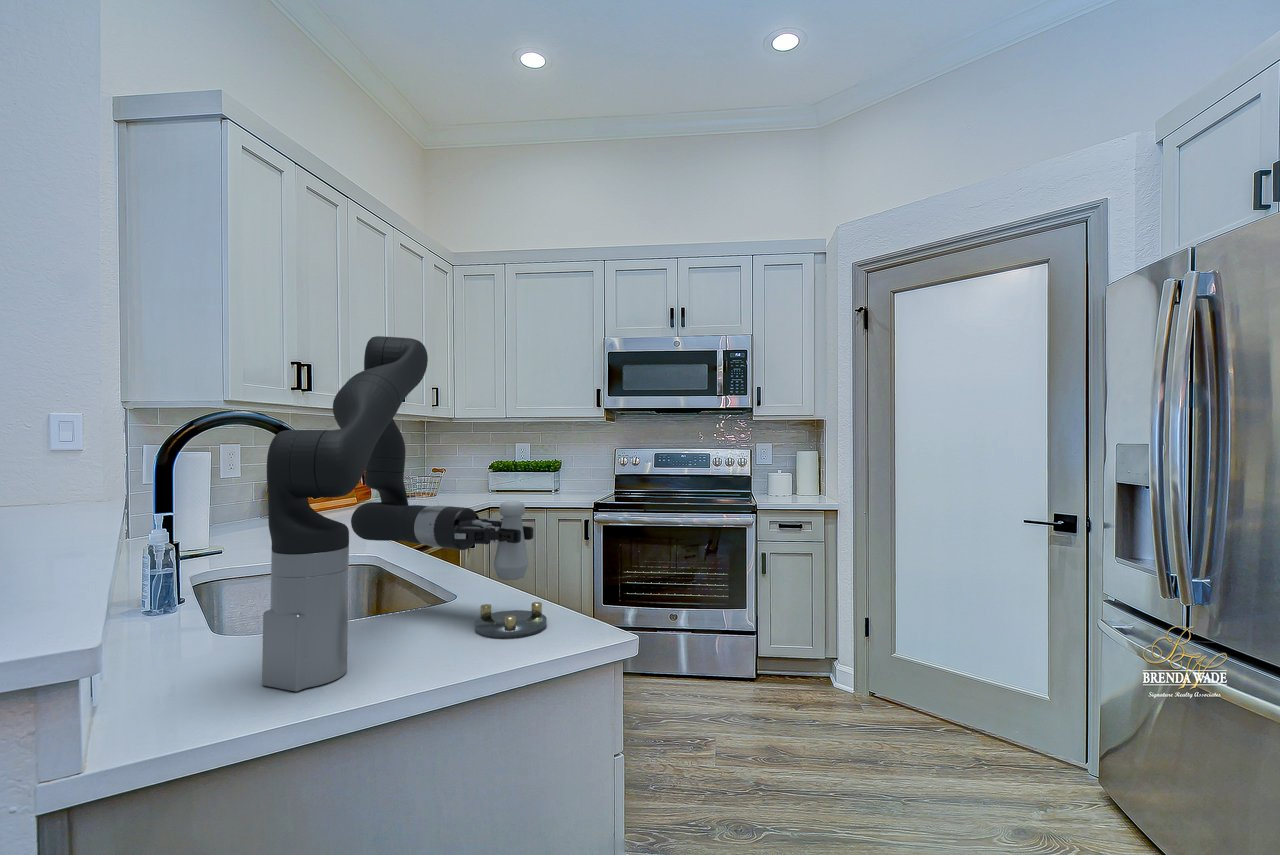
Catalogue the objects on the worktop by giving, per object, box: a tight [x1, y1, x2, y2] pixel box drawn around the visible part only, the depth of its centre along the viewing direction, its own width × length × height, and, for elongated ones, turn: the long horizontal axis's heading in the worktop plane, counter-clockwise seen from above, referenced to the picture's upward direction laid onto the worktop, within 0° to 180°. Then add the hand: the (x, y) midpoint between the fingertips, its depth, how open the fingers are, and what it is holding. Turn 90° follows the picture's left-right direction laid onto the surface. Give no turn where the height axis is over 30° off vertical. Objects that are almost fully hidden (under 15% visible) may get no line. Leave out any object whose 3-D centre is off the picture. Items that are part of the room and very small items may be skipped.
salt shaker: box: [493, 500, 529, 581], centre depth 103 cm, size 6×6×13 cm
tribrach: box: [474, 601, 548, 640], centre depth 103 cm, size 12×12×3 cm
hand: (525, 534), depth 102 cm, fingers closed on salt shaker, 3 cm apart
